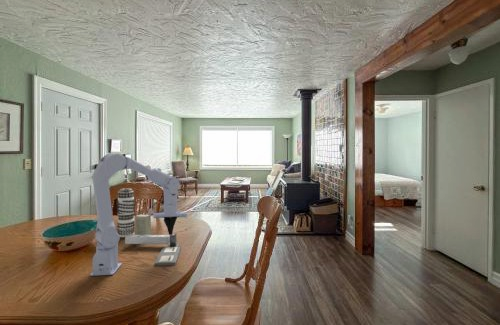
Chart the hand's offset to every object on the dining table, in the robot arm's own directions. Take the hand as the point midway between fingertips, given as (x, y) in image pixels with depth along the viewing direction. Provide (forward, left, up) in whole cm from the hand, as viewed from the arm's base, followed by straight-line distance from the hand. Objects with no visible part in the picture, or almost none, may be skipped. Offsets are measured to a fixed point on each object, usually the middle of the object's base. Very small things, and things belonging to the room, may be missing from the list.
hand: (170, 233), depth 118 cm
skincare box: (+21, +17, -9) cm, 28 cm away
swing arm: (+9, +12, -7) cm, 16 cm away
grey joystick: (+7, 0, -8) cm, 11 cm away
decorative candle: (+29, +28, -9) cm, 41 cm away
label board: (-5, 0, -8) cm, 10 cm away
